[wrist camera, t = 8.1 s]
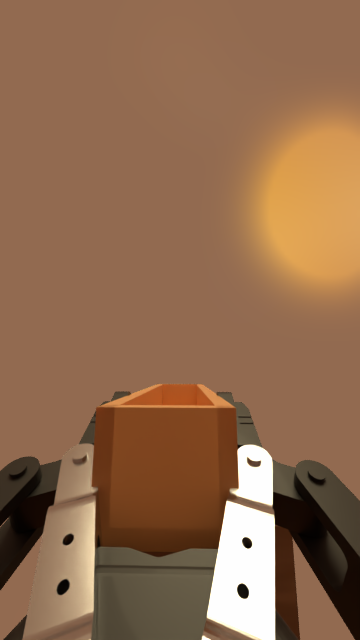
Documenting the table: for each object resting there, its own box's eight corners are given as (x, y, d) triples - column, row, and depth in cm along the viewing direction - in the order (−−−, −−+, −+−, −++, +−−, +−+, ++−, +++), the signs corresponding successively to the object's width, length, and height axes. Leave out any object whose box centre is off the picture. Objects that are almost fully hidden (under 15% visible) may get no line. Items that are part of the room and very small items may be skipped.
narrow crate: (241, 553, 7) (236, 408, 8) (87, 550, 8) (96, 407, 8) (202, 426, 25) (202, 384, 26) (156, 426, 25) (157, 384, 26)
